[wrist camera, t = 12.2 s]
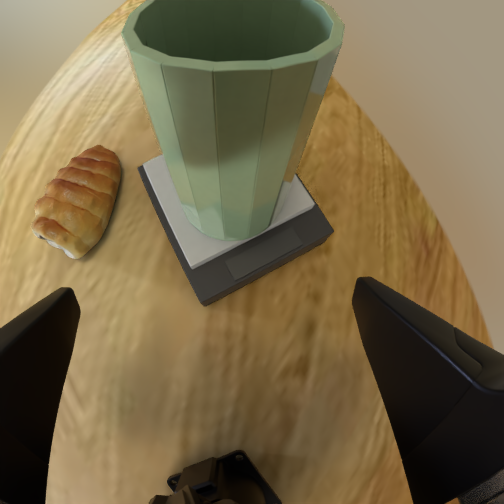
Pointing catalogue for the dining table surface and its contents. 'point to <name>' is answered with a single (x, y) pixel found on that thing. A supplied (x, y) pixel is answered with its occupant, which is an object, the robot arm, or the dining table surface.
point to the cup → (232, 100)
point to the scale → (234, 252)
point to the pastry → (79, 202)
